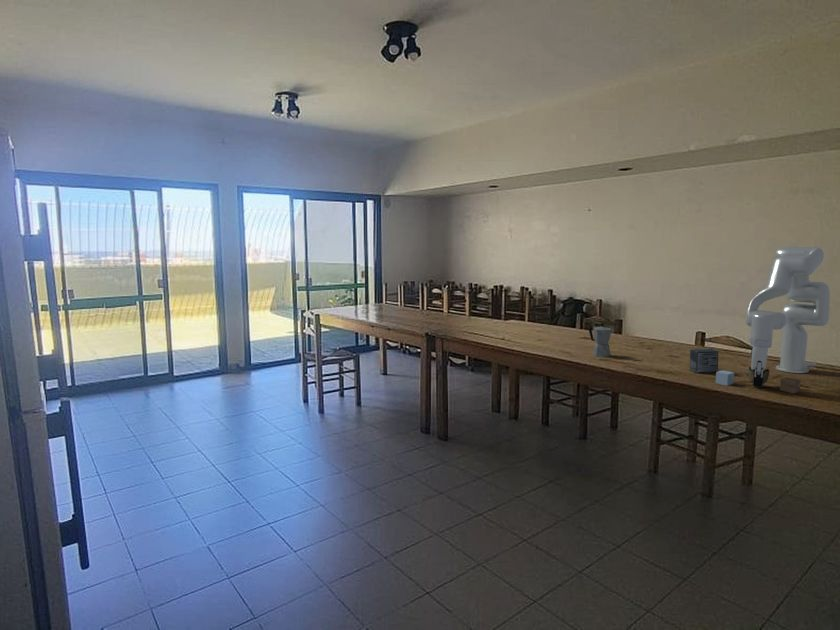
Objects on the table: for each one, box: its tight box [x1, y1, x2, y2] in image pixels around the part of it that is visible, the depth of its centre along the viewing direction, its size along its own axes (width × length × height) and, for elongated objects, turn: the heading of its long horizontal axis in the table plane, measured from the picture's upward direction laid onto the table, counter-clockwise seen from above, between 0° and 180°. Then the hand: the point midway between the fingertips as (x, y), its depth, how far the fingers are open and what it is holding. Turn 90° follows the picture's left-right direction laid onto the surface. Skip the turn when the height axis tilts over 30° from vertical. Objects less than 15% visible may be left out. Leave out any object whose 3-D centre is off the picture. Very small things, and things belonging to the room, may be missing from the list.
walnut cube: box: [779, 376, 801, 394], centre depth 208 cm, size 5×5×5 cm
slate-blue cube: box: [715, 369, 736, 386], centre depth 221 cm, size 5×5×5 cm
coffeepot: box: [588, 322, 614, 358], centre depth 280 cm, size 15×9×18 cm, turn 33°
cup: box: [748, 366, 771, 389], centre depth 214 cm, size 8×7×8 cm
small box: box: [689, 348, 719, 374], centre depth 241 cm, size 11×6×10 cm, turn 92°
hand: (757, 384), depth 214 cm, fingers closed on cup, 6 cm apart
